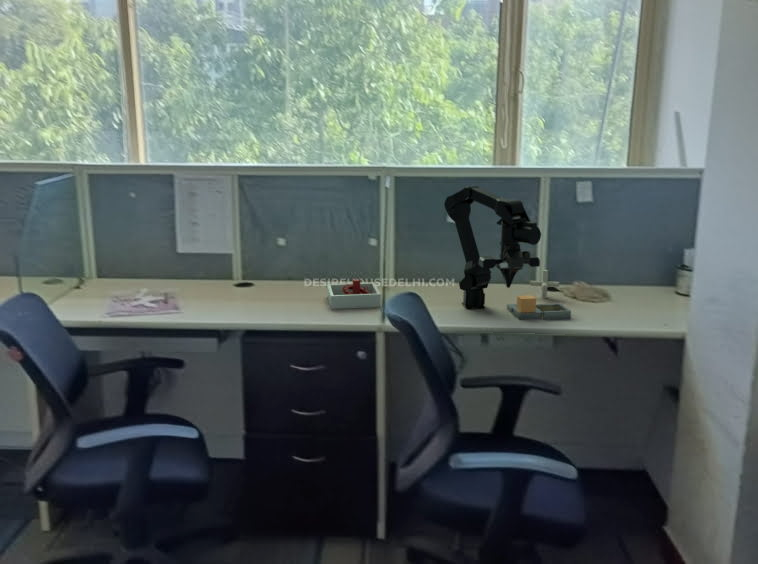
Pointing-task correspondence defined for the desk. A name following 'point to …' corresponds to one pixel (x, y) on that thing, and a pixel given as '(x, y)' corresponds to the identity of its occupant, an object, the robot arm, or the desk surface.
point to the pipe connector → (544, 284)
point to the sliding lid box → (545, 312)
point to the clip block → (526, 303)
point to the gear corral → (353, 297)
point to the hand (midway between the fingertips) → (508, 287)
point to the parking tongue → (511, 307)
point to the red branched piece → (354, 288)
